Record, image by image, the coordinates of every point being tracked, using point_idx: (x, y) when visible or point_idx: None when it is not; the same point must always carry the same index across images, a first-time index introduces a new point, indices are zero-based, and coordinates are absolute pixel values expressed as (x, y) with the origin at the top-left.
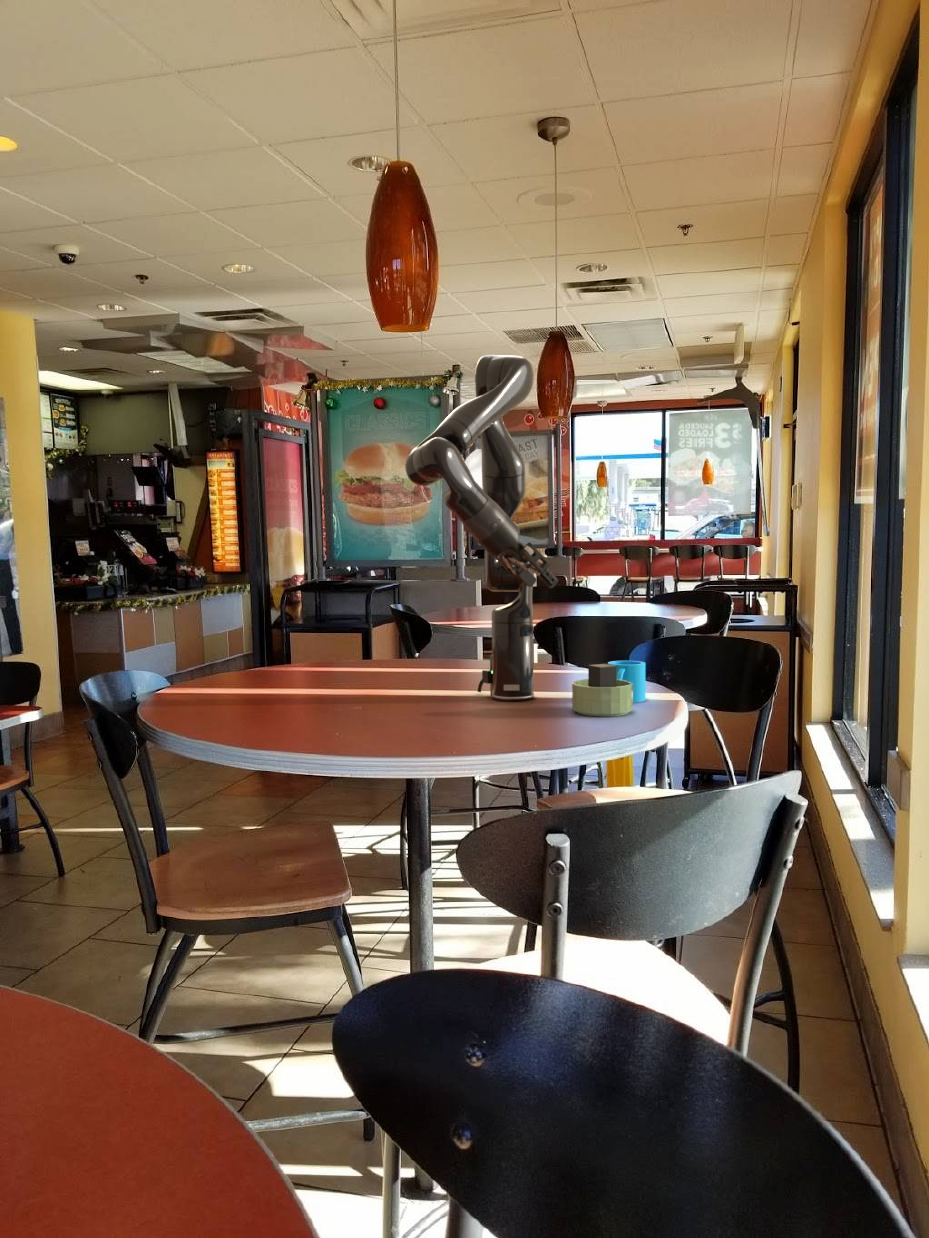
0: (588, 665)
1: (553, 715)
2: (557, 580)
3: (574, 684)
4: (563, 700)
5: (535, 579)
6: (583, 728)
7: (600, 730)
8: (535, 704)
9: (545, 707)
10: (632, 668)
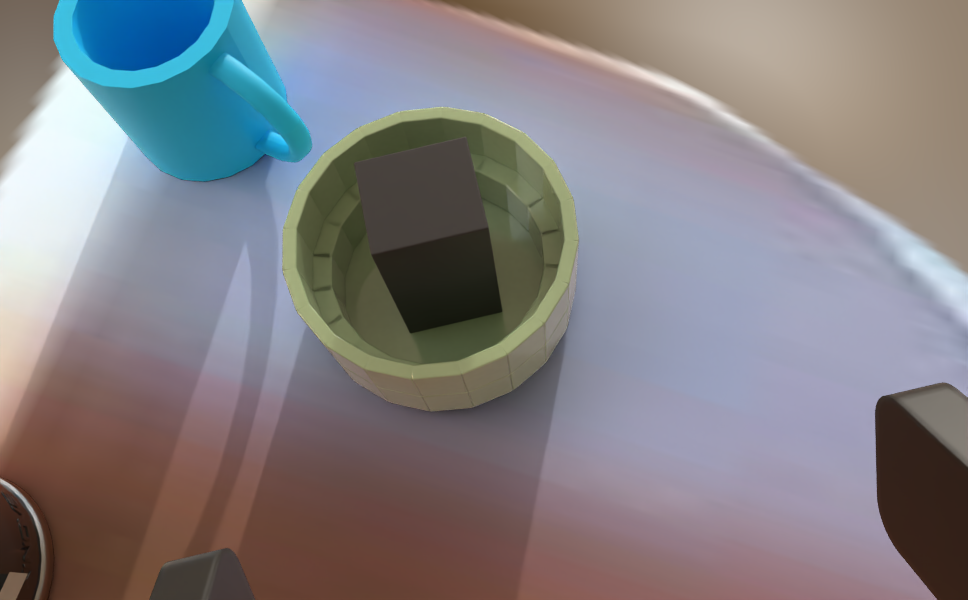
0: (374, 256)
1: (462, 519)
2: (941, 388)
3: (431, 377)
4: (116, 360)
5: (226, 566)
6: (794, 482)
7: (849, 426)
8: (160, 518)
9: (254, 495)
10: (237, 21)
